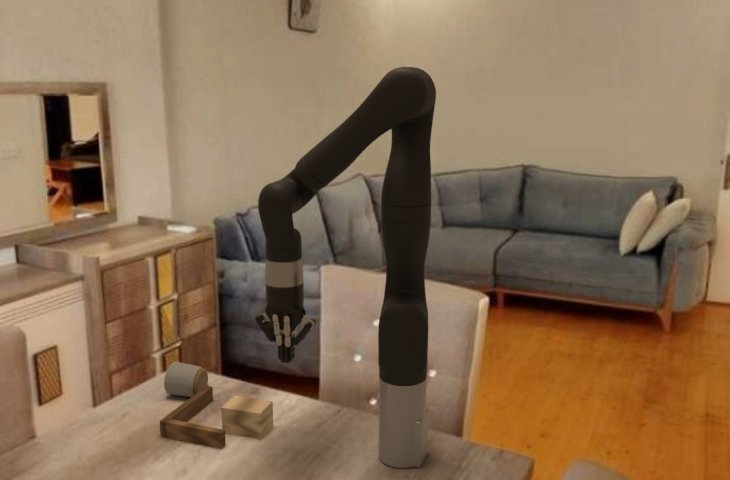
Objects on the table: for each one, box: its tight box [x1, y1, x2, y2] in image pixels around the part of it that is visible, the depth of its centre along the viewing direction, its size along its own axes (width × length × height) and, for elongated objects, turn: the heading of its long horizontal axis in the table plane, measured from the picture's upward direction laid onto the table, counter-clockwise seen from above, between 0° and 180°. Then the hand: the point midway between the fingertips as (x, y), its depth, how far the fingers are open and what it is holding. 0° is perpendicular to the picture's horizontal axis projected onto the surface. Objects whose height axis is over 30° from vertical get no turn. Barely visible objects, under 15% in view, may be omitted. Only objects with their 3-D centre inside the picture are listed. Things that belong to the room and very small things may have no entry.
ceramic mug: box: [163, 361, 209, 398], centre depth 165 cm, size 11×8×8 cm
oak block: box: [220, 395, 274, 440], centre depth 148 cm, size 9×6×6 cm, turn 73°
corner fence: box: [159, 385, 227, 450], centre depth 151 cm, size 15×18×4 cm
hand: (286, 361), depth 142 cm, fingers closed
